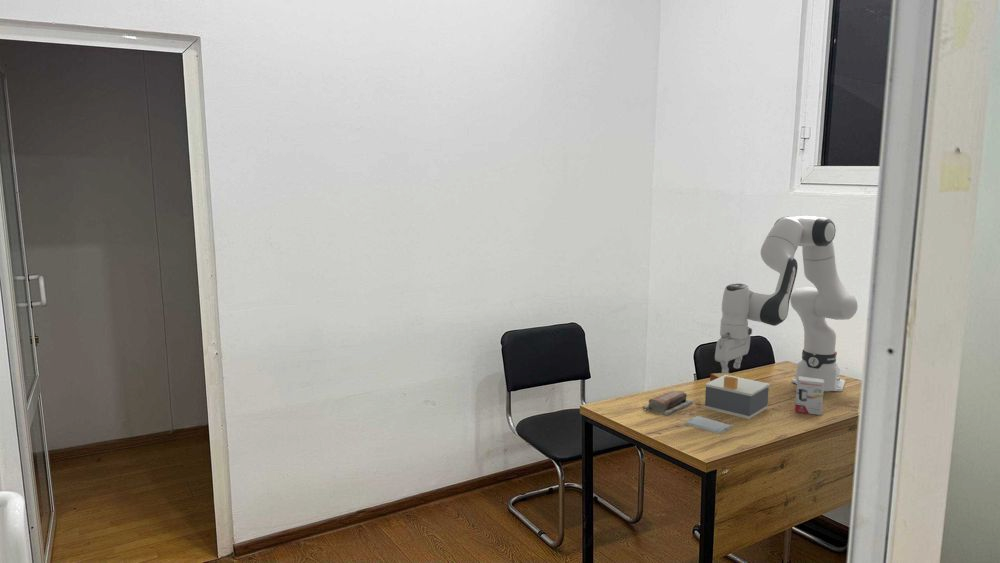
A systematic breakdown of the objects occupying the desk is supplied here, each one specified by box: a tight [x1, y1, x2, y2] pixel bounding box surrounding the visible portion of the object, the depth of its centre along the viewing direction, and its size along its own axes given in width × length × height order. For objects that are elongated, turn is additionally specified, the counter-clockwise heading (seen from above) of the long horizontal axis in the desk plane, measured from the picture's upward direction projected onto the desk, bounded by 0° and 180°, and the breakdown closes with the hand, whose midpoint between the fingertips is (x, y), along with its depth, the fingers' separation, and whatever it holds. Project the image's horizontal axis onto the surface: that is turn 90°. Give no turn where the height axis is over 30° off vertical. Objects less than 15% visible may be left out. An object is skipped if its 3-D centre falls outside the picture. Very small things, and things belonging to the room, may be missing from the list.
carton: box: [709, 372, 736, 382], centre depth 264 cm, size 8×16×4 cm, turn 12°
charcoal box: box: [704, 386, 770, 420], centre depth 240 cm, size 16×16×8 cm
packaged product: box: [642, 390, 694, 417], centre depth 241 cm, size 18×5×10 cm
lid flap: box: [704, 375, 771, 396], centre depth 239 cm, size 17×17×4 cm
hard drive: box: [684, 415, 733, 435], centre depth 222 cm, size 2×8×12 cm
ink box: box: [794, 376, 825, 416], centre depth 236 cm, size 9×5×12 cm, turn 67°
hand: (730, 370), depth 234 cm, fingers open, 8 cm apart
